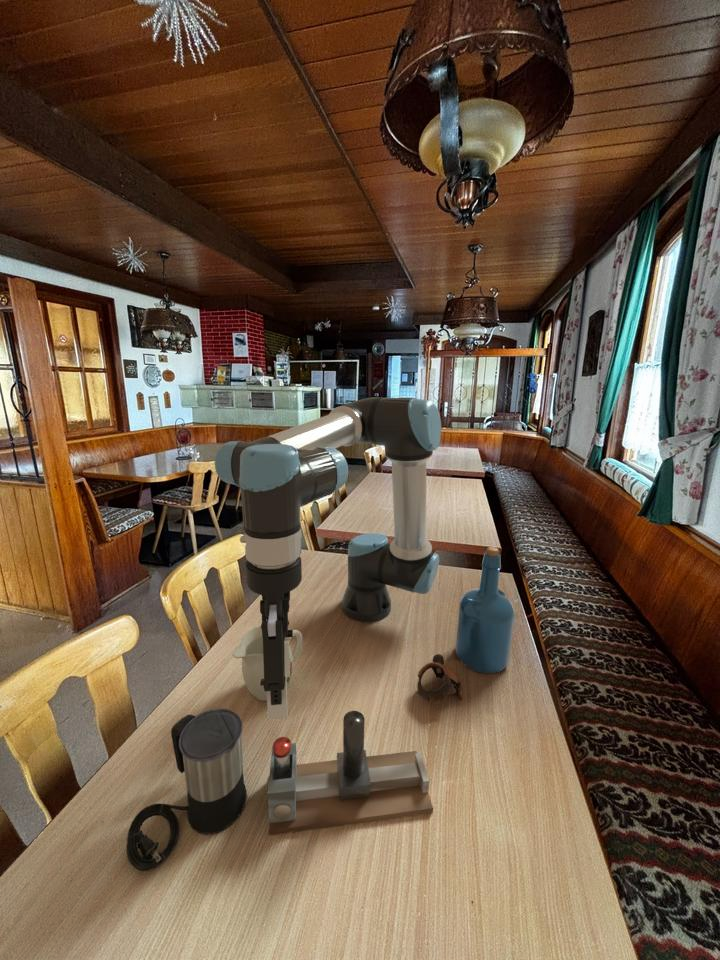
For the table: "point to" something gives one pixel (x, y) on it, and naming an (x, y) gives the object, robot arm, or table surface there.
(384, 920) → the table surface
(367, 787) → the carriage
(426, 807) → the rail base
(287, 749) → the red ball knob
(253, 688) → the pitcher
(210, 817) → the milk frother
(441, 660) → the broken pottery
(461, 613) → the wine bottle
